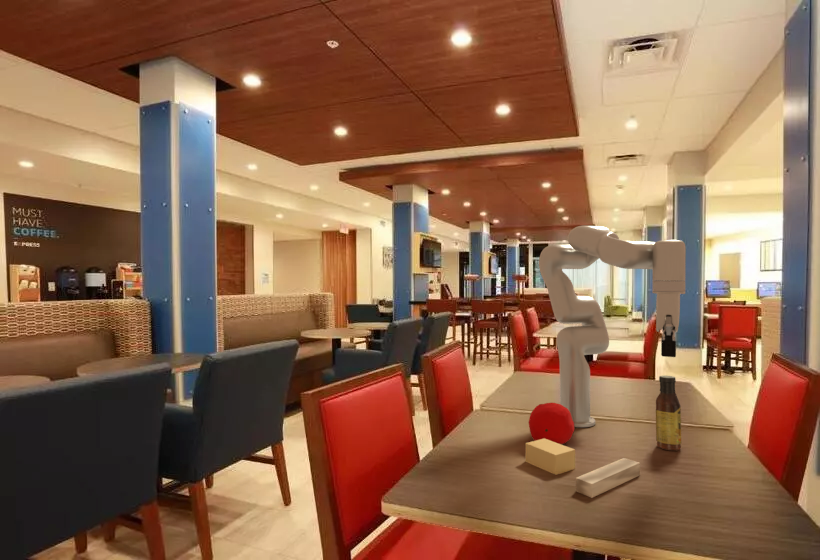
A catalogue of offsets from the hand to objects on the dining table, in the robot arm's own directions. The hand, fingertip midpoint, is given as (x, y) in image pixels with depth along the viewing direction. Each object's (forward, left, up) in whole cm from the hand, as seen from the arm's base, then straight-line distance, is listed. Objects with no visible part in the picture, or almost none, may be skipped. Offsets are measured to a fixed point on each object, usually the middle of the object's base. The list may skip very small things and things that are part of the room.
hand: (668, 353), depth 123 cm
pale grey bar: (-2, -25, -28) cm, 37 cm away
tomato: (-27, -13, -28) cm, 41 cm away
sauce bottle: (-5, +10, -28) cm, 30 cm away
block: (-17, -27, -28) cm, 42 cm away
